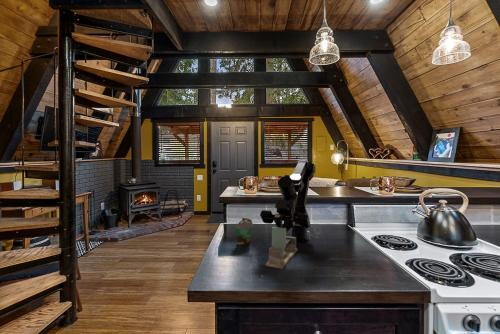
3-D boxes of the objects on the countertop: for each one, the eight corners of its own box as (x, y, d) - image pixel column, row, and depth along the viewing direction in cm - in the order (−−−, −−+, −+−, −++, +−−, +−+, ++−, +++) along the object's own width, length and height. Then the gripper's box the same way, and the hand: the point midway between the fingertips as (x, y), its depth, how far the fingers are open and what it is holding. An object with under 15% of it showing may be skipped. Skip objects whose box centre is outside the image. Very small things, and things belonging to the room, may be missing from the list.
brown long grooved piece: (283, 248, 114) (283, 234, 114) (297, 250, 112) (297, 235, 111) (265, 265, 96) (266, 248, 96) (282, 268, 94) (282, 250, 93)
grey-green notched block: (273, 253, 102) (273, 226, 101) (286, 255, 100) (286, 227, 99) (270, 256, 99) (271, 227, 99) (284, 258, 97) (284, 229, 96)
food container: (249, 248, 115) (250, 224, 114) (235, 247, 116) (235, 223, 116) (255, 239, 127) (255, 218, 126) (242, 238, 128) (242, 217, 128)
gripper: (261, 189, 108) (250, 223, 98) (308, 192, 100) (301, 229, 91) (268, 206, 115) (258, 239, 106) (312, 210, 108) (306, 245, 98)
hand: (279, 238), depth 100 cm, fingers closed, pressing on grey-green notched block
